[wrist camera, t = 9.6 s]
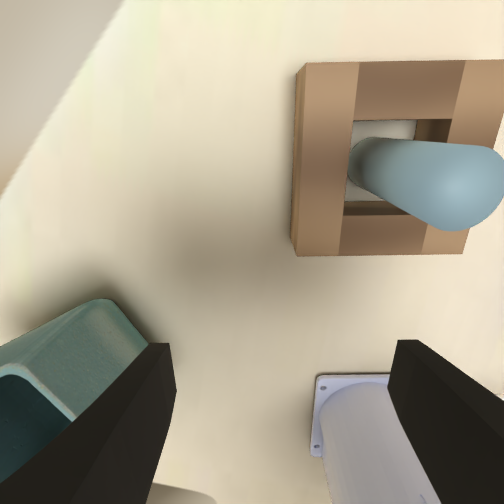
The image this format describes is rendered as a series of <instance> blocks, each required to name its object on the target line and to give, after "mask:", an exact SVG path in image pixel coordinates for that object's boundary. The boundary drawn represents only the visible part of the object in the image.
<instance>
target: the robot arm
mask: <svg viewBox="0 0 504 504" xmlns="http://www.w3.org/2000/svg"><path fill="white" fill-rule="evenodd" d="M321 386H322V387H321ZM176 392H177V389H176V383H175V377H174V370H173V364H172V358H171V351H170V345H169V343H150V344H149V345H148V346H147V347H146V348H145V349H144V350H143V351H142V352H141V353H140V354H139V355H138V356H137V357H136V358H135V359H134V360H133V361H132V362H131V364H130V365H129V366H128V367H127V368H126V369H125V370H124V371H123V372H122V373H121V374H120V375H119V376H118V377H117V378H116V379H115V380H114V381H113V383H112V384H111V385H110V386H109V387H108V388H107V389H106V390H105V391H104V392H103V393H102V394H101V395H100V396H99V397H98V398H97V399H96V400H95V401H94V402H93V403H92V404H91V405H90V406H89V407H88V408H87V409H85V410H84V411H83V412H82V413H81V414H80V415H79V416H78V417H77V418H76V419H75V420H74V421H73V422H72V423H71V424H70V425H69V426H68V427H66V428H65V429H64V430H63V431H62V432H61V433H60V434H59V435H58V436H57V437H55V438H54V439H53V440H52V441H51V442H50V443H49V444H48V445H46V446H45V447H44V448H43V449H42V450H41V451H39V452H38V453H37V454H36V455H35V456H33V457H32V458H31V459H30V460H29V461H27V462H26V463H25V464H24V465H23V466H21V467H20V468H19V469H18V470H17V471H15V472H14V473H13V474H12V475H10V476H9V477H8V478H7V479H5V480H4V481H3V482H1V483H0V504H146V500H147V497H148V494H149V491H150V487H151V484H152V481H153V478H154V475H155V472H156V469H157V465H158V462H159V459H160V456H161V453H162V449H163V446H164V443H165V440H166V436H167V433H168V430H169V426H170V422H171V418H172V413H173V408H174V402H175V397H176ZM310 454H311V456H313V457H322V459H323V464H324V469H325V473H326V478H327V483H328V487H329V492H330V497H331V502H332V504H504V401H503V400H502V399H501V398H499V397H498V396H496V395H495V394H493V393H492V392H490V391H489V390H488V389H486V388H485V387H483V386H482V385H481V384H479V383H478V382H476V381H475V380H474V379H472V378H471V377H469V376H468V375H467V374H465V373H464V372H462V371H461V370H460V369H458V368H457V367H456V366H454V365H453V364H451V363H450V362H449V361H447V360H446V359H444V358H443V357H442V356H440V355H439V354H438V353H436V352H435V351H433V350H432V349H431V348H429V347H428V346H426V345H425V344H423V343H422V342H420V341H419V340H398V341H397V346H396V350H395V355H394V359H393V363H392V368H391V372H390V374H375V375H321V376H319V377H318V378H317V380H316V390H315V400H314V411H313V421H312V431H311V442H310Z"/></svg>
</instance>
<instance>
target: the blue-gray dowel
mask: <svg viewBox="0 0 504 504" xmlns="http://www.w3.org/2000/svg"><path fill="white" fill-rule="evenodd" d="M347 173H348V175H349V178H350V179H351V180H352V182H354V183H355V184H356V185H358V186H360V187H362V188H363V189H365V190H367V191H369V192H371V193H373V194H374V195H376V196H378V197H380V198H382V199H384V200H385V201H387V202H389V203H391V204H393V205H395V206H396V207H398V208H400V209H402V210H404V211H406V212H407V213H409V214H411V215H413V216H415V217H417V218H418V219H420V220H422V221H424V222H426V223H428V224H429V225H431V226H433V227H435V228H437V229H440V230H443V231H461V230H465V229H468V228H471V227H473V226H475V225H477V224H479V223H480V222H482V221H483V220H484V219H486V218H487V217H488V216H489V215H490V214H491V213H492V212H493V211H494V210H495V209H496V208H497V206H498V205H499V204H500V202H501V200H502V198H503V196H504V160H503V158H502V157H501V156H500V155H499V154H498V153H497V152H496V151H494V150H493V149H490V148H488V147H484V146H477V145H464V144H452V143H440V142H428V141H415V140H403V139H391V138H378V137H372V138H368V139H365V140H363V141H361V142H359V143H358V144H357V145H356V146H355V147H354V148H353V149H352V151H351V152H350V154H349V162H348V171H347Z"/></svg>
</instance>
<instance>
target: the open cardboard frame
mask: <svg viewBox="0 0 504 504" xmlns="http://www.w3.org/2000/svg"><path fill="white" fill-rule="evenodd" d="M503 113H504V60H444V61H383V62H322V63H306V64H305V65H304V66H303V67H302V68H301V70H300V71H299V72H298V73H297V74H296V99H295V124H294V150H293V175H292V201H291V226H290V238H291V241H292V244H293V247H294V250H295V253H296V256H362V255H431V254H462V253H463V250H464V246H465V243H466V239H467V236H468V233H469V229H470V228H468V229H465V230H461V231H443V230H440V229H437V228H435V227H433V226H431V225H429V224H428V223H426V222H424V221H422V220H420V219H418V218H417V217H415V216H413V215H411V214H409V213H407V212H406V211H404V210H402V209H400V208H398V207H396V206H395V205H393V204H391V203H389V202H387V201H361V202H344V198H345V189H346V180H347V171H348V162H349V153H350V144H351V135H352V126H353V121H369V120H418V122H417V127H416V133H415V138H414V140H415V141H428V142H440V143H452V144H464V145H477V146H484V147H488V148H490V149H493V147H494V144H495V141H496V137H497V134H498V130H499V127H500V124H501V120H502V117H503Z"/></svg>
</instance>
